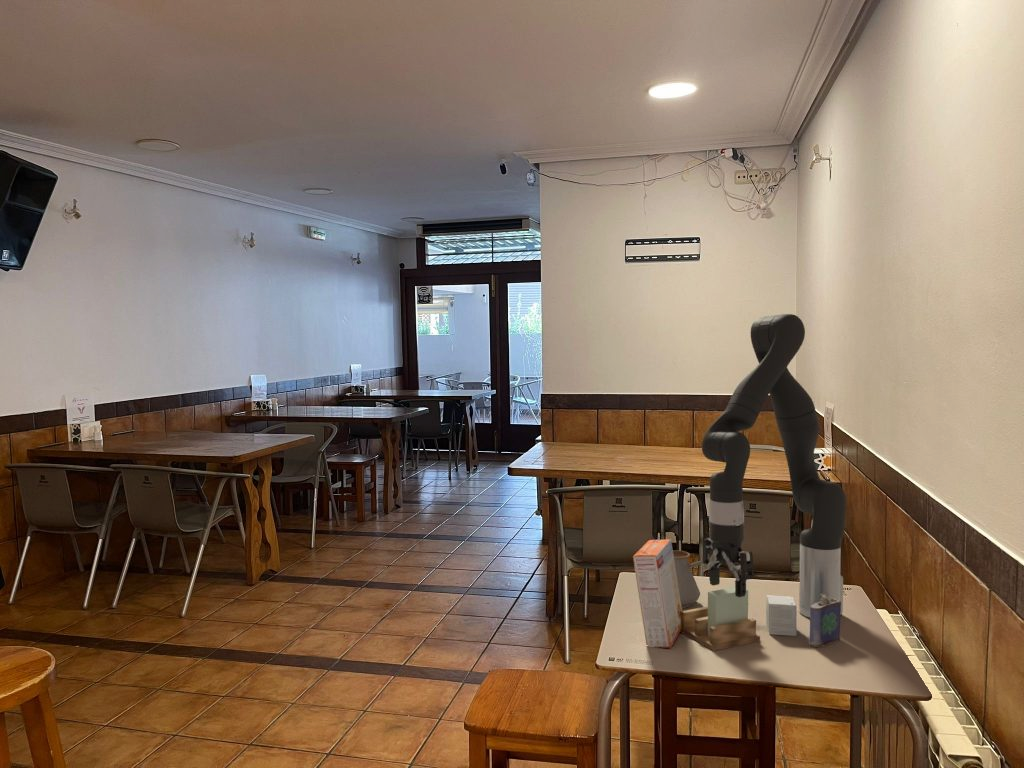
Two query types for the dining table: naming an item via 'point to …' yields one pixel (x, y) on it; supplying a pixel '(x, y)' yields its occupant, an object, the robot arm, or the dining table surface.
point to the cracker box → (658, 593)
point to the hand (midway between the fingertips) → (727, 590)
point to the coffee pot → (686, 578)
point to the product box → (781, 615)
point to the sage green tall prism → (726, 607)
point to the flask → (825, 621)
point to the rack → (717, 630)
